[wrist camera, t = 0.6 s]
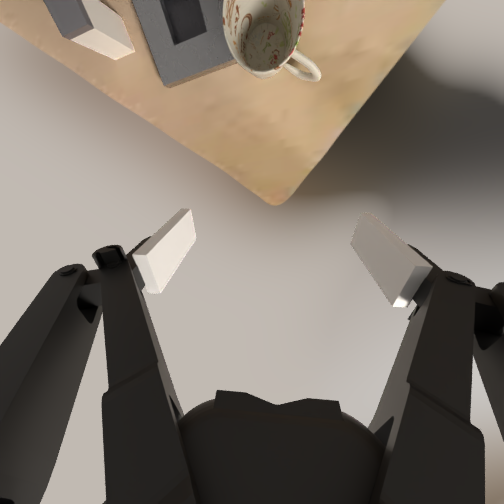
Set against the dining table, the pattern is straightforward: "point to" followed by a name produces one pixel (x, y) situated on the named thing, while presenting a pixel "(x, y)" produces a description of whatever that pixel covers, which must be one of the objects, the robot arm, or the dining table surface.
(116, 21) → the plug
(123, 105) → the dining table surface
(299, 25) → the mug
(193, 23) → the socket plate
